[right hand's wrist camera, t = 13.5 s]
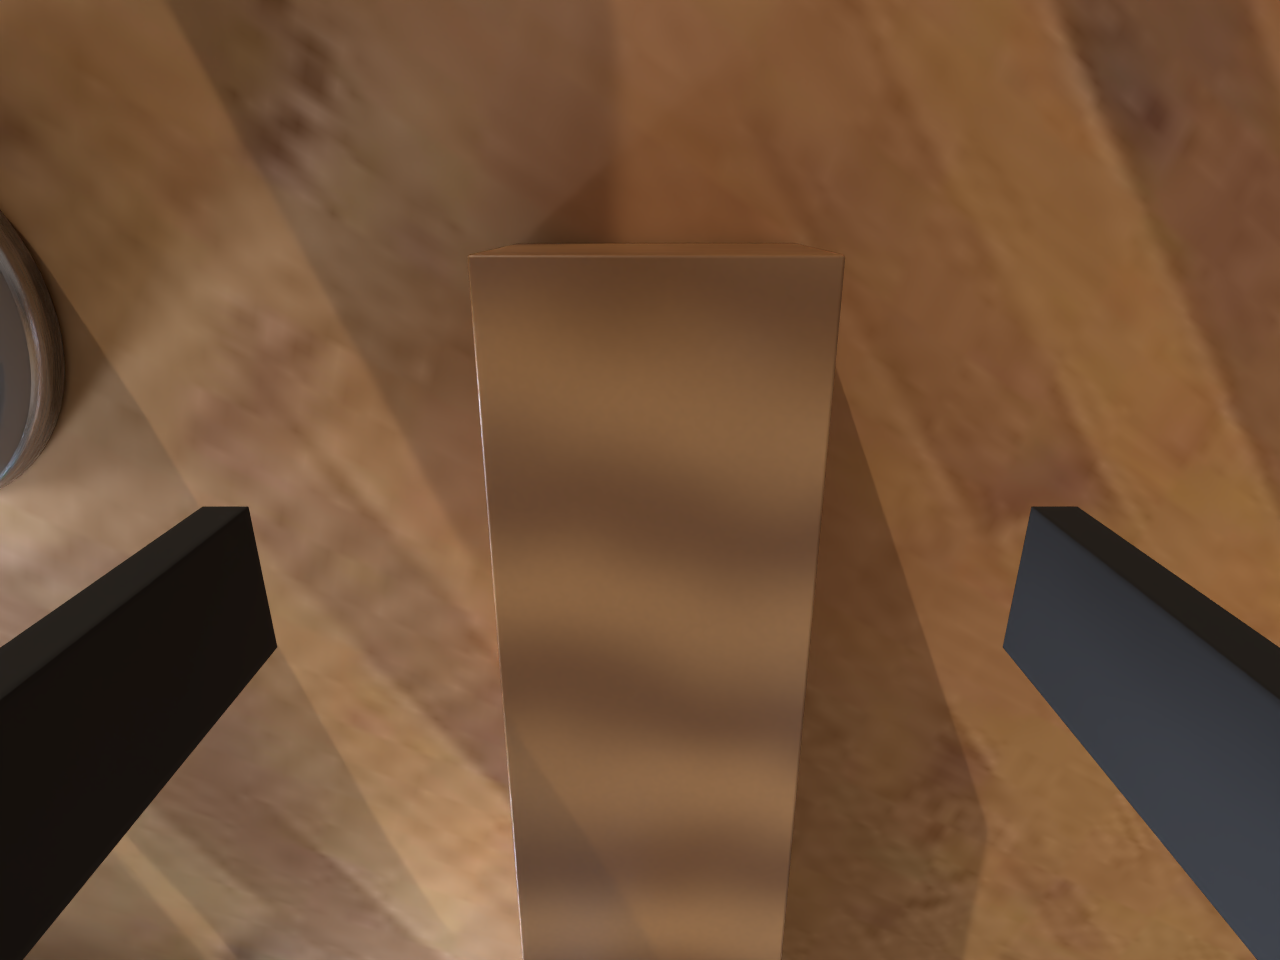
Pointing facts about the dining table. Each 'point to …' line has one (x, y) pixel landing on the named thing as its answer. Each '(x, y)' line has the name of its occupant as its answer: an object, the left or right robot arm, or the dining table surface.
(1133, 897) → the dining table surface
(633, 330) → the wide beam
